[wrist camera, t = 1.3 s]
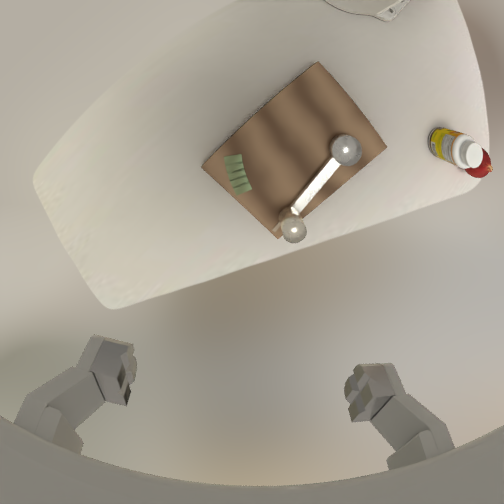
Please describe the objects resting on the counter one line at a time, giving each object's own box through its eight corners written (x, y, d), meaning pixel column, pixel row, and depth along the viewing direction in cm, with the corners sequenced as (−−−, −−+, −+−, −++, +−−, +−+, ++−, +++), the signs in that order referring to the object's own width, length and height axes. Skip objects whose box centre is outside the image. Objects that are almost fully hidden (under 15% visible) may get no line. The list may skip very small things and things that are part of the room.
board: (315, 63, 34) (318, 61, 32) (381, 144, 40) (387, 147, 38) (203, 164, 42) (200, 167, 40) (276, 233, 48) (278, 239, 46)
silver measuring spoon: (341, 128, 36) (356, 133, 31) (363, 147, 38) (380, 155, 32) (271, 214, 43) (274, 232, 38) (293, 229, 44) (299, 249, 39)
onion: (449, 163, 40) (476, 176, 33) (459, 136, 38) (487, 145, 31) (468, 175, 41) (493, 189, 34) (477, 149, 38) (504, 160, 32)
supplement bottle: (453, 136, 38) (490, 150, 29) (442, 162, 40) (477, 179, 32) (434, 120, 37) (471, 130, 28) (422, 147, 39) (457, 162, 31)
